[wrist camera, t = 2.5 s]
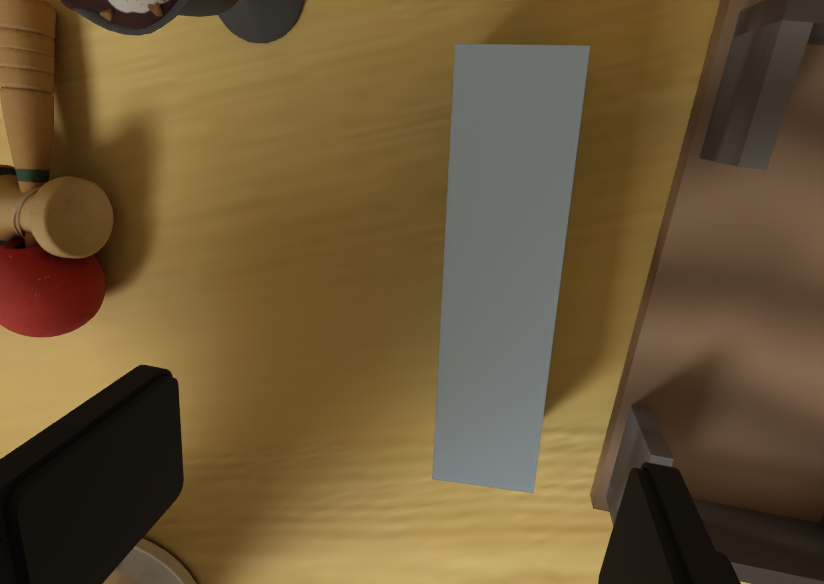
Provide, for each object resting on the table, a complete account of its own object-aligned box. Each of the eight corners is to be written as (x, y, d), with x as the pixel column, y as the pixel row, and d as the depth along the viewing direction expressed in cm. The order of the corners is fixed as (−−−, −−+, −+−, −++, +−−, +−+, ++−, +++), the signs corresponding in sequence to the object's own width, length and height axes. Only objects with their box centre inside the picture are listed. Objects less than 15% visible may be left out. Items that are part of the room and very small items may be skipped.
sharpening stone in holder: (823, 541, 30) (888, 630, 25) (590, 494, 32) (605, 569, 27) (1065, 15, 21) (1246, -18, 16) (723, -11, 23) (786, -48, 18)
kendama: (-7, 16, 31) (15, 318, 34) (-112, -28, 24) (-71, 347, 28) (128, 26, 31) (137, 326, 34) (59, -14, 25) (78, 356, 28)
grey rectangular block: (529, 426, 32) (533, 493, 26) (445, 416, 32) (432, 479, 27) (572, 61, 25) (590, 45, 20) (467, 59, 26) (455, 43, 20)
